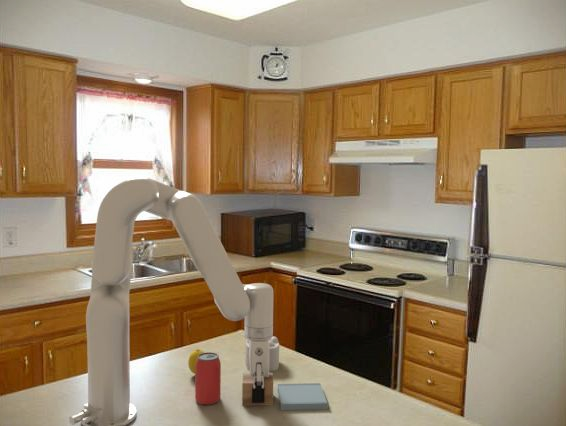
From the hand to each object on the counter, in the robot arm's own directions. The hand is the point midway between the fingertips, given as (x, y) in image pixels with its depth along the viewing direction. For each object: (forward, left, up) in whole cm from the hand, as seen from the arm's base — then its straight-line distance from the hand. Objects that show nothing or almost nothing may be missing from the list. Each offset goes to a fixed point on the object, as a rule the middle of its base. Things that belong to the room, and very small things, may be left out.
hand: (257, 395), depth 129 cm
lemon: (+2, +24, -1) cm, 24 cm away
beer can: (-8, +11, -1) cm, 13 cm away
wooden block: (0, 0, -1) cm, 1 cm away
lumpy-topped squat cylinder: (+21, +14, -1) cm, 25 cm away
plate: (+7, -9, -1) cm, 12 cm away
